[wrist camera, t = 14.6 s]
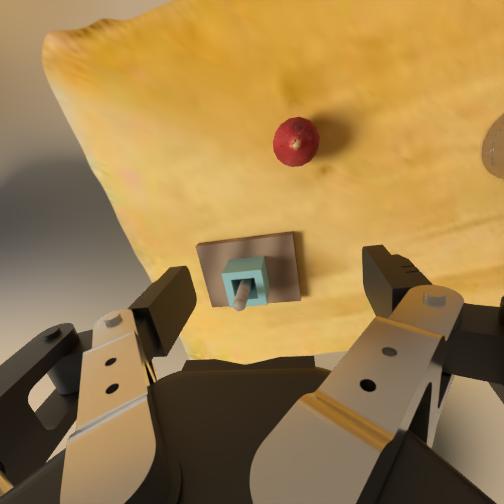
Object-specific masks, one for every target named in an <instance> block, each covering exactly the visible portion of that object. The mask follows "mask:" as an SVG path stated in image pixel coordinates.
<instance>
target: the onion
mask: <svg viewBox="0 0 504 504" xmlns="http://www.w3.org/2000/svg"><path fill="white" fill-rule="evenodd" d="M318 146H319V135H318V132H317V129H316V127H315V126H314V125H313V124H312V123H311V122H310V120H307V119H304V118H301V117H296V118H290V119H288V120H287V121H285V122H284V123H282V124H281V125H280V127H279V128H278V129H277V131H276V132H275V136H274V140H273V148H274V153H275V155H276V157H277V159H278V160H280V161H281V162H282V163H283V164H285V165H288V166H291V167H295V166H302V165H304V164H306V163H308V162H310V160H311V159H312V158H313V157H314V156H315V154H316V152H317V149H318Z"/></svg>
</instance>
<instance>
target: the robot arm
mask: <svg viewBox="0 0 504 504" xmlns="http://www.w3.org/2000/svg"><path fill="white" fill-rule="evenodd" d="M482 159H483V163H484V165H485V167H486V168H487V170H488V171H489V172H490V173H491V174H493V175H494V176H496V177H498V178H502V179H504V115H502V116H501V117H500V118H499V119H498V120H497V121H496V122H495V123H494V124H493V126H492V127H491V129H490V130H489V132H488V133H487V135H486V138H485V140H484V143H483V147H482ZM362 263H363V285H364V290H365V293H366V296H367V298H368V300H369V302H370V304H371V306H372V308H373V311H374V313H375V315H376V317H375V318H374V319H373V321H372V322H371V323H370V324H369V326H368V327H367V328H366V329H365V331H364V332H363V333H362V334H361V336H360V337H359V338H358V339H357V341H356V342H355V343H354V344H353V346H352V347H351V348H350V349H349V351H348V352H347V353H346V355H345V356H344V357H343V358H342V359H341V361H340V362H339V363H338V364H337V366H336V367H335V368H334V370H333V371H330V370H327V369H324V368H320V367H315V361H314V356H296V357H278V358H274V359H270V360H265V361H261V362H257V363H253V364H248V365H243V364H237V363H232V362H227V361H222V360H217V359H210V360H186V362H185V364H184V367H183V369H182V371H178V372H176V373H173V374H170V375H168V376H165V377H163V378H161V379H159V380H158V377H157V374H156V370H155V367H154V364H153V362H152V359H153V357H164V356H167V355H168V353H169V351H170V350H171V348H172V346H173V345H174V343H175V341H176V339H177V337H178V336H179V334H180V332H181V331H182V329H183V327H184V325H185V324H186V322H187V320H188V319H189V317H190V315H191V313H192V312H193V310H194V308H195V306H196V301H197V298H196V292H195V289H194V286H193V282H192V279H191V275H190V272H189V269H188V268H187V267H186V266H178V267H170V268H169V269H168V270H167V271H166V272H165V273H164V274H163V275H162V276H161V277H160V278H159V279H158V280H157V281H155V282H154V283H152V284H151V285H150V286H149V287H148V288H147V289H146V291H144V292H143V293H142V294H141V296H139V297H138V298H137V299H136V301H135V302H134V303H133V304H132V305H131V306H130V307H129V308H128V309H119V310H116V311H113V312H110V313H108V314H106V315H105V316H103V317H101V318H100V319H99V320H97V321H96V323H95V324H94V326H93V329H92V330H89V331H85V332H81V333H77V332H76V330H75V328H74V326H73V324H71V323H64V324H59V325H56V326H54V327H51V328H49V329H47V330H45V331H43V332H42V333H40V334H39V335H37V336H36V337H35V338H33V339H32V340H31V341H30V342H29V343H27V344H26V345H25V346H24V347H22V348H21V349H20V350H19V351H18V352H16V353H15V354H14V355H13V356H11V357H10V358H9V359H8V360H6V361H5V362H4V363H3V364H2V365H0V504H496V503H495V502H494V501H493V500H492V499H491V498H489V497H488V496H487V495H486V494H484V493H483V492H482V491H481V490H480V489H479V488H478V487H476V486H475V485H474V484H473V483H472V482H470V481H469V480H468V479H467V478H466V477H465V476H463V475H462V474H461V473H460V472H459V471H457V470H456V469H455V468H454V467H453V466H451V465H450V464H449V463H448V462H447V461H446V460H444V459H443V458H442V457H441V456H439V454H437V453H436V452H435V451H434V450H433V449H431V448H432V444H433V440H434V436H435V431H436V426H437V423H438V420H439V417H440V414H441V411H442V409H443V406H444V403H445V400H446V398H447V395H448V392H449V389H450V387H451V384H452V381H453V378H454V375H458V376H463V377H468V378H472V379H477V380H483V381H487V382H489V384H490V385H491V387H492V388H493V390H494V391H495V392H496V394H497V395H498V397H499V398H500V399H501V401H502V402H503V404H504V296H503V297H502V299H501V303H500V307H493V306H482V305H473V304H467V303H464V299H463V297H462V296H461V295H460V294H459V293H457V292H456V291H454V290H452V289H449V288H446V287H442V286H437V285H433V284H432V283H431V282H430V281H429V280H428V279H427V278H426V277H425V276H424V275H423V274H422V273H421V272H419V270H418V269H417V268H416V267H414V265H413V263H412V262H411V261H410V260H409V259H407V258H405V257H402V256H400V255H398V254H396V255H391V254H390V253H389V252H388V251H387V249H386V248H385V247H384V246H383V245H374V246H364V247H363V249H362ZM46 373H47V374H48V375H49V377H50V379H51V380H52V382H53V384H54V385H55V387H56V389H55V390H54V391H53V392H52V393H51V395H50V396H49V397H48V398H47V399H46V400H45V402H44V403H43V404H42V405H41V406H40V407H39V408H38V409H37V411H36V412H35V413H34V411H33V410H32V408H31V407H30V405H29V404H28V395H29V392H30V390H31V389H32V388H33V386H34V385H35V384H36V383H37V382H38V381H39V380H40V379H41V378H42V377H43V376H44V375H45V374H46ZM76 419H77V423H76V430H75V432H74V433H73V434H72V435H70V436H69V438H68V441H67V445H66V448H65V449H64V450H62V451H61V452H60V453H58V454H57V455H56V456H54V457H53V458H52V459H50V460H49V461H48V462H46V461H47V460H48V458H49V457H50V455H51V454H52V453H53V451H54V450H55V448H56V447H57V446H58V444H59V443H60V442H61V440H62V439H63V437H64V436H65V434H66V433H67V432H68V430H69V429H70V427H71V426H72V425H73V423H74V422H75V420H76Z"/></svg>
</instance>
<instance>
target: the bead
mask: <svg viewBox="0 0 504 504" xmlns="http://www.w3.org/2000/svg"><path fill="white" fill-rule="evenodd" d="M222 278H223V282H224V286H225V290H226V294H227V298H228V302H229V306H230V307H233V301H234V299H235V296H236V293H237V290H238V288H239V285H240V282H241V281H240V279H246V278H254V279H255V283H252V285H251V289H250V293H249V296H248V300H247V303H246V306H256V305H267V304H268V297H269V290H270V286H269V280H268V275H267V269H266V263H265V257H264V256H259V257H250V258H240V259H231V260H228V262H227V264H226V266H225V268H224V270H223V272H222Z"/></svg>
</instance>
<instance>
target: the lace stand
mask: <svg viewBox="0 0 504 504" xmlns="http://www.w3.org/2000/svg"><path fill="white" fill-rule="evenodd" d="M196 250H197V253H198V257H199V260H200V264H201V268H202V271H203V275H204V279H205V282H206V286H207V290H208V293H209V297H210V301H211V304H212V307H223V306H229V302H228V298H227V294H226V290H225V286H224V282H223V278H222V272H223V270H224V268H225V266H226V264H227V262H228V260H231V259H240V258H250V257H259V256H264V257H265V263H266V269H267V275H268V280H269V286H270V290H269V297H268V303H277V302H290V301H301V293H300V286H299V278H298V270H297V262H296V255H295V247H294V239H293V232H285V233H277V234H269V235H261V236H253V237H245V238H237V239H229V240H221V241H213V242H205V243H198V244H197V246H196ZM240 281H241V282H240V285H239V288H238V290H237V293H236V296H235V299H234V301H233V307H234V309H235V310H237V311H242V310H243V309H244V308H245V307H246V303H247V300H248V296H249V293H250V289H251V285H252V283H255V279H254V278H246V279H240Z"/></svg>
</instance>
